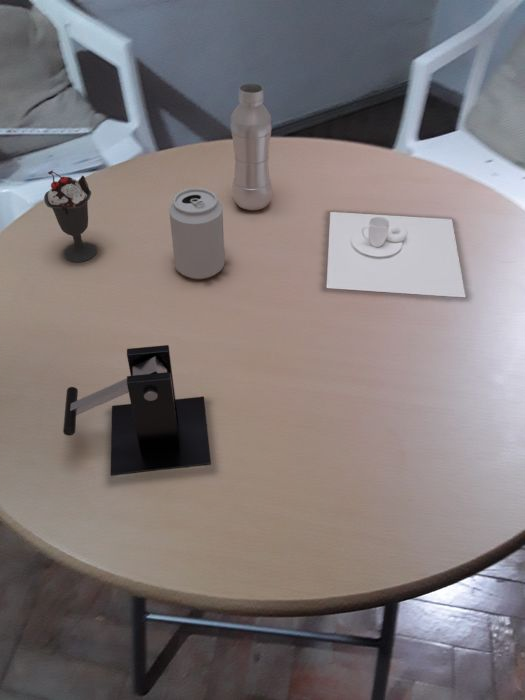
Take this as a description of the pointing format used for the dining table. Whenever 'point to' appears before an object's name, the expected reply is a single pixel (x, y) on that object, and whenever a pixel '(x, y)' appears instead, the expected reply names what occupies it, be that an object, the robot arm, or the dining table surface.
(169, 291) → the dining table surface
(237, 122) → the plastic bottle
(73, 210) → the sundae
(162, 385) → the black lever stand
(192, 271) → the can
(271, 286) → the dining table surface
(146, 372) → the lever handle
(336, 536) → the dining table surface
